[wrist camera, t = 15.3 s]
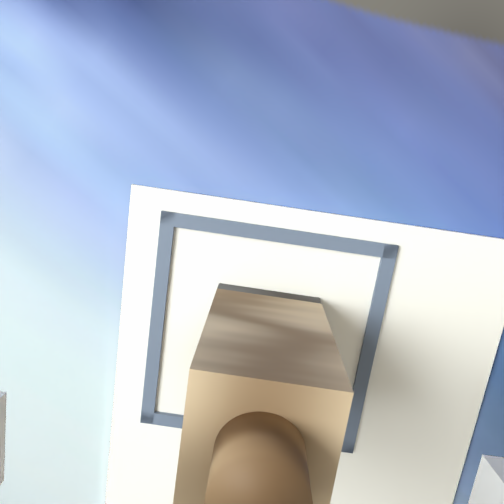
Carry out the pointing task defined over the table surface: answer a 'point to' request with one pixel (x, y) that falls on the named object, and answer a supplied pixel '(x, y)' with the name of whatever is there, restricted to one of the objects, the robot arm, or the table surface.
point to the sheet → (341, 323)
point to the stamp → (263, 403)
